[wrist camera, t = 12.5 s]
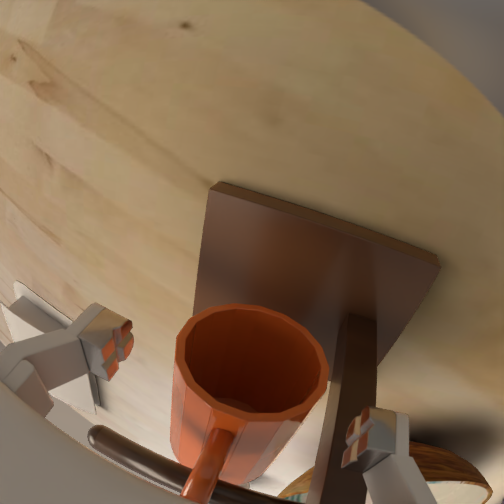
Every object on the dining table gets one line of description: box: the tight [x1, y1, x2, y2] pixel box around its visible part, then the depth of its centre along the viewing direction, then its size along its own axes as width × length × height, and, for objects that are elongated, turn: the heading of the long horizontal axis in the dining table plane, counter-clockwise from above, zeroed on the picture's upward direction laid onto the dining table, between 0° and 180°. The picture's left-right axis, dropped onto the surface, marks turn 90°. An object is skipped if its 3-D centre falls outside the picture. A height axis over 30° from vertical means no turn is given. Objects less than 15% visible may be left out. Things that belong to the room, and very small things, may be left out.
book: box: [0, 281, 100, 415], centre depth 38 cm, size 15×23×4 cm, turn 161°
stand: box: [87, 182, 441, 504], centre depth 14 cm, size 12×14×18 cm
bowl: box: [277, 441, 493, 504], centre depth 26 cm, size 25×25×8 cm
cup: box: [170, 303, 329, 504], centre depth 13 cm, size 10×7×8 cm
